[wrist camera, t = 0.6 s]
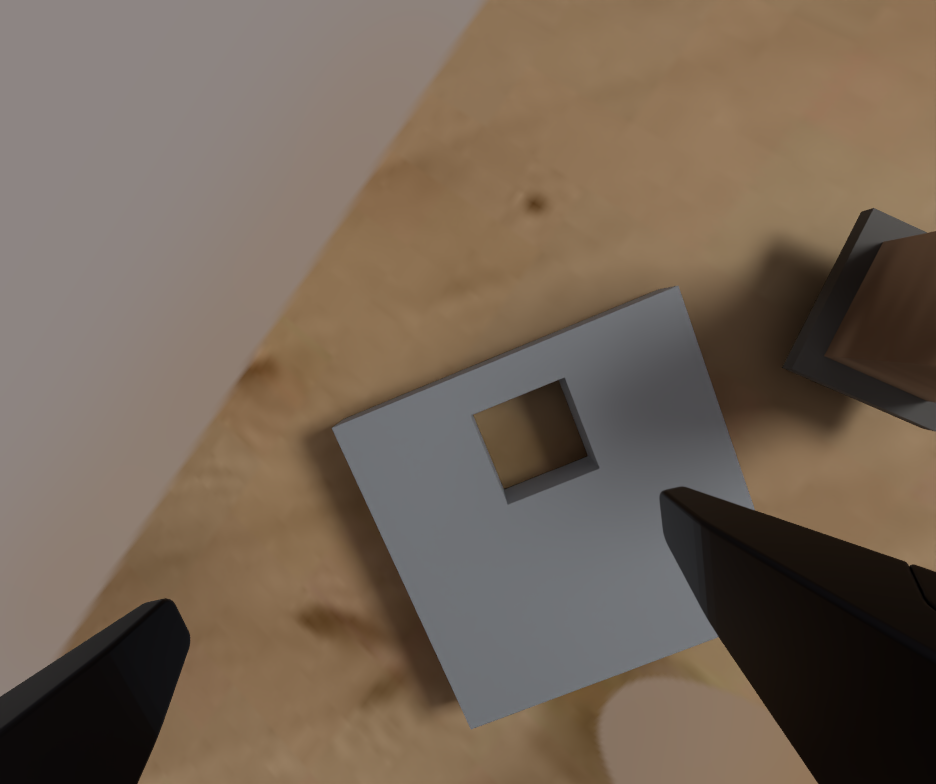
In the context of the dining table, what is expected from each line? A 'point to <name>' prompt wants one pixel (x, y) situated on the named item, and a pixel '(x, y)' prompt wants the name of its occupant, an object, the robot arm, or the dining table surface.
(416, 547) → the slate board
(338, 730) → the dining table surface
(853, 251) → the walnut peg
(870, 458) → the dining table surface
